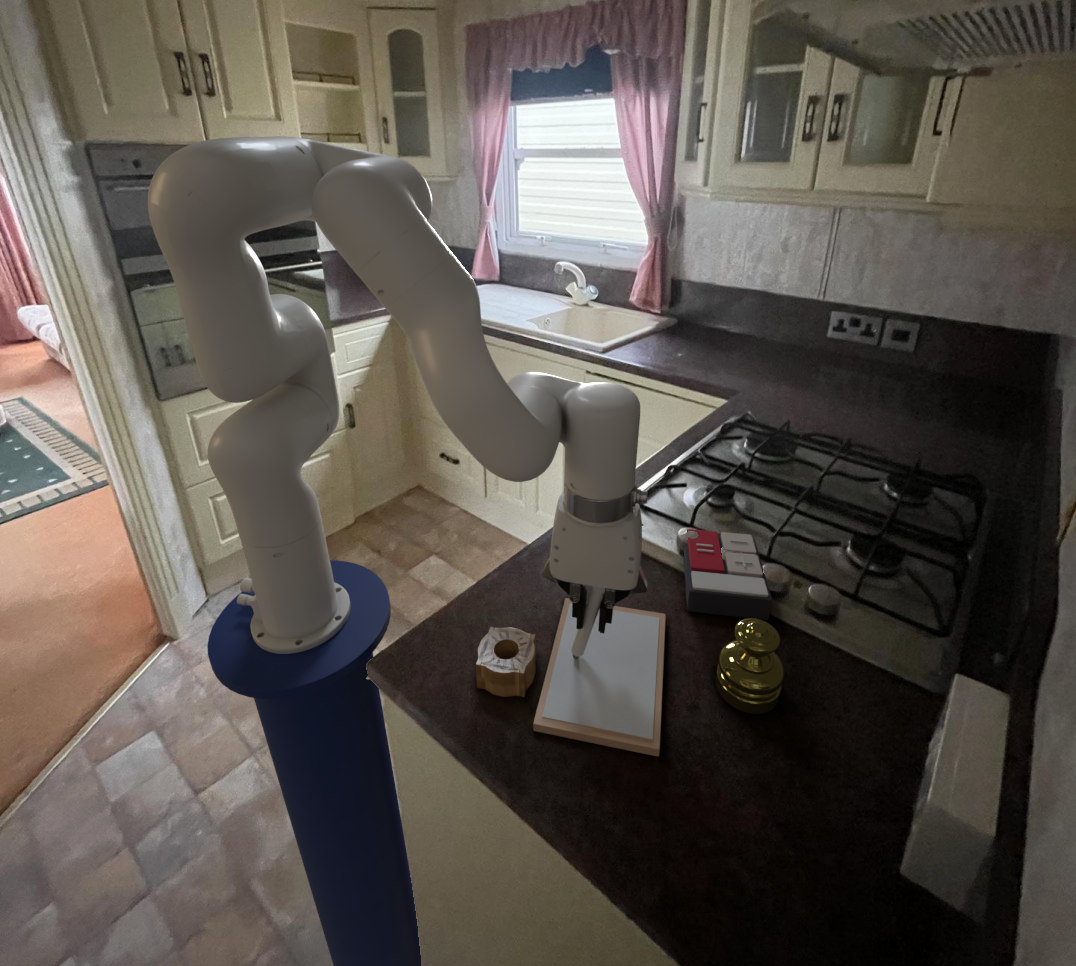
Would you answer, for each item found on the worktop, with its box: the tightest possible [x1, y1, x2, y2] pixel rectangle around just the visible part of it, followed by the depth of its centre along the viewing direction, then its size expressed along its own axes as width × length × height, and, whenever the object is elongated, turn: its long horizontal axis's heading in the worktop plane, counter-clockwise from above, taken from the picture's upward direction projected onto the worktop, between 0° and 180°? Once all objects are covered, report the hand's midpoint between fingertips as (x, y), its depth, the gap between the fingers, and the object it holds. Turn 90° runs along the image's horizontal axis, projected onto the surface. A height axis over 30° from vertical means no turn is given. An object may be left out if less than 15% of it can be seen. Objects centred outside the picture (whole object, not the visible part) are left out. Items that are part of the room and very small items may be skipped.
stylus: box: [571, 586, 605, 659], centre depth 72 cm, size 2×2×12 cm
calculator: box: [682, 528, 773, 621], centre depth 89 cm, size 11×4×15 cm
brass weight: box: [715, 618, 786, 715], centre depth 70 cm, size 7×7×10 cm
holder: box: [475, 626, 537, 698], centre depth 74 cm, size 7×7×4 cm
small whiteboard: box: [532, 597, 666, 757], centre depth 75 cm, size 14×20×1 cm
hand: (592, 621), depth 72 cm, fingers closed on stylus, 2 cm apart
